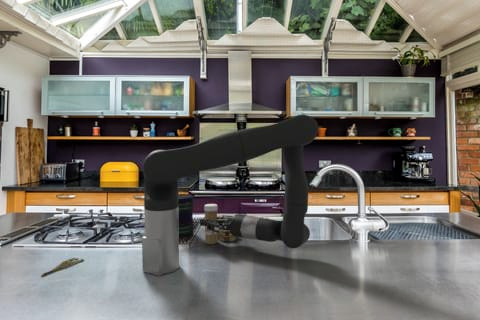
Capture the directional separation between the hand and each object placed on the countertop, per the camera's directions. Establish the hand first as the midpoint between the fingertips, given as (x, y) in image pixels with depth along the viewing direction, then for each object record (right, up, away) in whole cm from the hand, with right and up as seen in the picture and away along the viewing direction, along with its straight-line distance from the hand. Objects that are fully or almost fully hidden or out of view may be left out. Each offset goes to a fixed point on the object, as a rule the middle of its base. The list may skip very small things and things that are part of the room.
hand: (204, 220), depth 108 cm
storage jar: (-10, -7, +8) cm, 15 cm away
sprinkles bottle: (+2, -8, -1) cm, 8 cm away
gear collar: (+8, -7, +4) cm, 11 cm away
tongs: (-37, -10, -22) cm, 45 cm away
